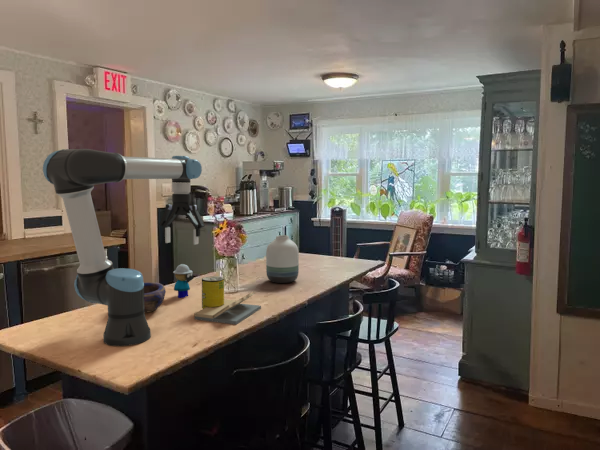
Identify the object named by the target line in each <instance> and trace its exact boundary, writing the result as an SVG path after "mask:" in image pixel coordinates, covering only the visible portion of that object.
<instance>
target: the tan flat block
mask: <svg viewBox="0 0 600 450" xmlns="http://www.w3.org/2000/svg"><path fill="white" fill-rule="evenodd" d="M241 301H242V300H241V298H239V299H237V301H235V302H233V303H231V304H230V305H228V306H226V307H225V308H223V309H222V310H220V311H219V312H217V313H216V314H214V317H217V316H219V315H220V314H222V313H224V312H226V311H228V310H229V309H231V308H232V307H234V306H235V305H237V304H238V303H240V302H241ZM240 304H241V303H240Z"/></svg>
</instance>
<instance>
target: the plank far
mask: <svg viewBox="0 0 600 450" xmlns="http://www.w3.org/2000/svg"><path fill="white" fill-rule="evenodd" d="M255 294H256V292H255V291H251V292H250V293H248V294H247V295H244V296H242V297H240V299H241V300H242V301H241V302H240V303H238V304H243V302H244V301H246V300H247V299H249V298H251V297H252V296H253V295H255ZM238 304H237V305H238ZM235 306H236V305H235ZM235 306H234V307H235ZM232 308H233V307H232Z"/></svg>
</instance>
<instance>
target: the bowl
mask: <svg viewBox="0 0 600 450" xmlns="http://www.w3.org/2000/svg"><path fill="white" fill-rule="evenodd" d="M166 292H167V291H166V288H165V285H164V284H162V283H160V282H144V313H150V312H151V313H152V312H154V311H156V310H157V309H158V308H159V307H160V306H161V305H162V304H163V302H164V301H165V296H166Z"/></svg>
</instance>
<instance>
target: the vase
mask: <svg viewBox="0 0 600 450" xmlns="http://www.w3.org/2000/svg"><path fill="white" fill-rule="evenodd" d="M265 250H266V252H265V253H266V254H265V265H266V267H265V270H266V271H265V273H266V277H267V279H268V281H270V282H272V283H277V284H287V283H293V282H295V281H296V280H297V278H298V276H299V271H300V270H299V267H300V266H299V265H300V263H299V262H300V261H299V260H300V257H299V255H300V254H299V253H300V252H299V247H298V245H297V244H296V242H295V241H293V240H292V239H291V238H290V236H289V235H287V234H284V235H283V234H281V235H276V237H275V239H274V240H272V241H271V242H270V243H269V244H268V245H267V247H266V249H265Z"/></svg>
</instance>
